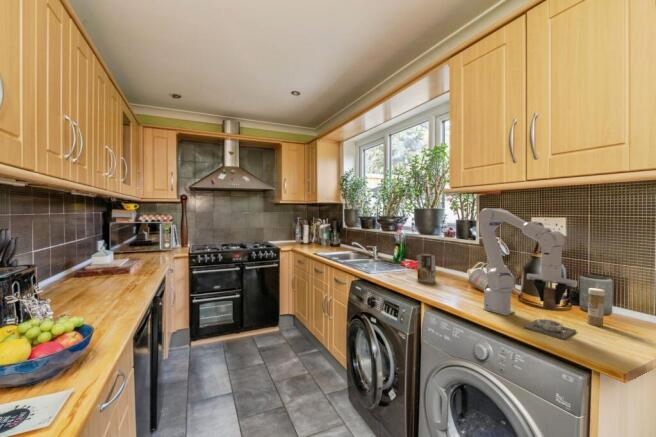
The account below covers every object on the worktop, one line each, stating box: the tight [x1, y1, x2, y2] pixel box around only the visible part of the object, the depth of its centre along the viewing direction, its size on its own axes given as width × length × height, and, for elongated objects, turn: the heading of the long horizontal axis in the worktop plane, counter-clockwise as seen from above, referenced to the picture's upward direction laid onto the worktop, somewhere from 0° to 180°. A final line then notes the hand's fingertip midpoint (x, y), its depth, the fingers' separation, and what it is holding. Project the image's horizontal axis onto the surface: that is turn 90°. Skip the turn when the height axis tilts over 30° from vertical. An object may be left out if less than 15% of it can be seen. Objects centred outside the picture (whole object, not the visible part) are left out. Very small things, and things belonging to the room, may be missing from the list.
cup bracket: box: [523, 318, 577, 341], centre depth 103 cm, size 12×12×2 cm
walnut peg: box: [542, 286, 558, 311], centre depth 104 cm, size 4×4×7 cm
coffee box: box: [416, 253, 437, 284], centre depth 175 cm, size 9×6×16 cm
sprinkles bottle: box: [586, 287, 606, 327], centre depth 108 cm, size 5×5×14 cm
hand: (550, 302), depth 104 cm, fingers closed on walnut peg, 4 cm apart
